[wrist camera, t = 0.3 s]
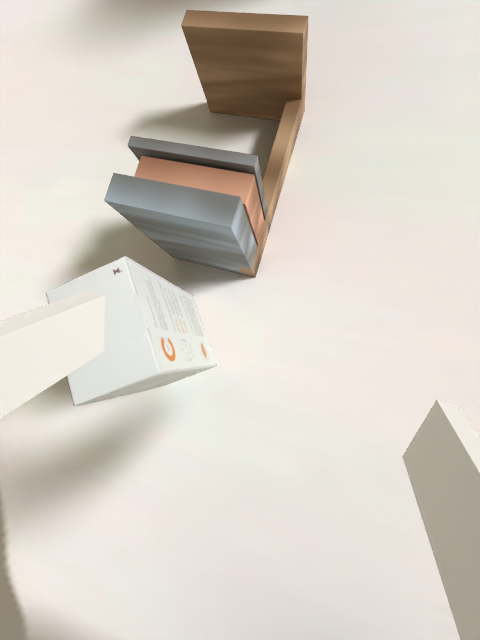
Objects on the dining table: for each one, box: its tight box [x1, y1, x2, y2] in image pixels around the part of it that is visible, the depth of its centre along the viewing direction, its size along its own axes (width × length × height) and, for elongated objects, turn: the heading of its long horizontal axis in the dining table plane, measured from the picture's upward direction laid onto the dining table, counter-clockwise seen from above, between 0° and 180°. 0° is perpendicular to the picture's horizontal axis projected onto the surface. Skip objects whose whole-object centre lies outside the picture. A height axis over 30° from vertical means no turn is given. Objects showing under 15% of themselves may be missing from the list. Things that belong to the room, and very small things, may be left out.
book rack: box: [104, 10, 308, 277], centre depth 26 cm, size 19×10×12 cm, turn 163°
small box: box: [46, 256, 217, 406], centre depth 25 cm, size 8×6×13 cm
